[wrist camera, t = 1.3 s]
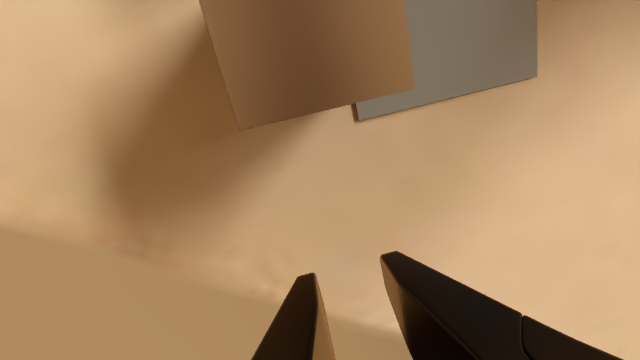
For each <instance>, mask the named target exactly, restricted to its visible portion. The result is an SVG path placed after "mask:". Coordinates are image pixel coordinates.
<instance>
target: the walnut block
mask: <svg viewBox="0 0 640 360" xmlns="http://www.w3.org/2000/svg"><path fill="white" fill-rule="evenodd" d="M199 3H200V6H201V9H202V12H203V15H204V19H205V22H206V25H207V28H208V31H209V35H210V38H211V41H212V44H213V48H214V51H215V54H216V57H217V60H218V64H219V67H220V70H221V73H222V77H223V80H224V83H225V86H226V89H227V93H228V96H229V99H230V102H231V105H232V109H233V112H234V115H235V118H236V122H237V125H238V128H239V131H241V130H245V129H249V128H253V127H257V126H261V125H266V124H270V123H274V122H278V121H282V120H287V119H291V118H295V117H299V116H303V115H308V114H312V113H316V112H320V111H324V110H329V109H333V108H337V107H341V106H345V105H349V104H354V103H358V102H362V101H366V100H370V99H375V98H379V97H383V96H387V95H391V94H396V93H400V92H404V91H408V90H412V89H415V84H414V76H413V69H412V61H411V53H410V45H409V38H408V30H407V22H406V14H405V7H404V0H199Z"/></svg>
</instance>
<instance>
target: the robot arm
mask: <svg viewBox="0 0 640 360" xmlns="http://www.w3.org/2000/svg"><path fill="white" fill-rule="evenodd" d="M380 262H381V267H382V273H383V278H384V283H385V287H386V291H387V294H388V296H389V299H390V302H391V305H392V307H393V310H394V313H395V315H396V318H397V321H398V323H399V326H400V329H401V331H402V334H403V337H404V339H405V342H406V345H407V347H408V349H409V352H410V354H411V356H412V358H413V360H623V359H621V358H618V357H616V356H613V355H611V354H609V353H606V352H604V351H602V350H599V349H597V348H595V347H592V346H590V345H588V344H585V343H583V342H581V341H578V340H576V339H574V338H572V337H570V336H568V335H565V334H563V333H561V332H559V331H557V330H555V329H553V328H551V327H549V326H546V325H544V324H542V323H540V322H538V321H536V320H534V319H532V318H530V317H528V316H526V315H524V316H523V317H522V314H521V313H520V312H518V311H516V310H514V309H512V308H510V307H508V306H506V305H504V304H502V303H500V302H498V301H496V300H494V299H492V298H490V297H488V296H486V295H484V294H482V293H480V292H478V291H476V290H474V289H472V288H470V287H468V286H466V285H464V284H462V283H460V282H458V281H456V280H454V279H452V278H450V277H448V276H446V275H444V274H442V273H440V272H438V271H436V270H434V269H432V268H430V267H428V266H426V265H424V264H422V263H420V262H418V261H416V260H414V259H412V258H410V257H408V256H406V255H404V254H402V253H400V252H398V251H393V252H390V253H386V254H382V255H381V256H380ZM251 360H336V359H335V354H334V350H333V345H332V340H331V335H330V331H329V326H328V321H327V316H326V312H325V307H324V303H323V299H322V296H321V292H320V288H319V285H318V281H317V277H316V275H315V273H309V274H305V275H301V276H298V277H297V279H296V280H295V282H294V284H293V286H292V288H291V289H290V291H289V293H288V295H287V296H286V298H285V300H284V302H283V304H282V305H281V307H280V309H279V311H278V313H277V314H276V316H275V318H274V320H273V322H272V323H271V325H270V327H269V329H268V331H267V332H266V334H265V336H264V338H263V339H262V341H261V343H260V345H259V347H258V349H257V350H256V352H255V354H254V356H253V357H252V359H251Z"/></svg>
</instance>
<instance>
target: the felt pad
mask: <svg viewBox="0 0 640 360" xmlns="http://www.w3.org/2000/svg"><path fill="white" fill-rule="evenodd" d="M404 7H405V14H406V22H407V30H408V38H409V45H410V53H411V61H412V69H413V76H414V84H415V89H412V90H408V91H404V92H400V93H396V94H391V95H387V96H383V97H379V98H375V99H370V100H366V101H362V102H358V103H355V105H356V110H357V115H358V120H359V121H360V120H364V119H368V118H372V117H376V116H380V115H384V114H388V113H392V112H396V111H400V110H404V109H408V108H412V107H416V106H420V105H424V104H428V103H433V102H437V101H441V100H445V99H449V98H453V97H457V96H461V95H465V94H469V93H473V92H477V91H481V90H485V89H489V88H493V87H497V86H501V85H505V84H509V83H513V82H517V81H521V80H525V79H529V78H533V77H537V26H536V0H404Z"/></svg>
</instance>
